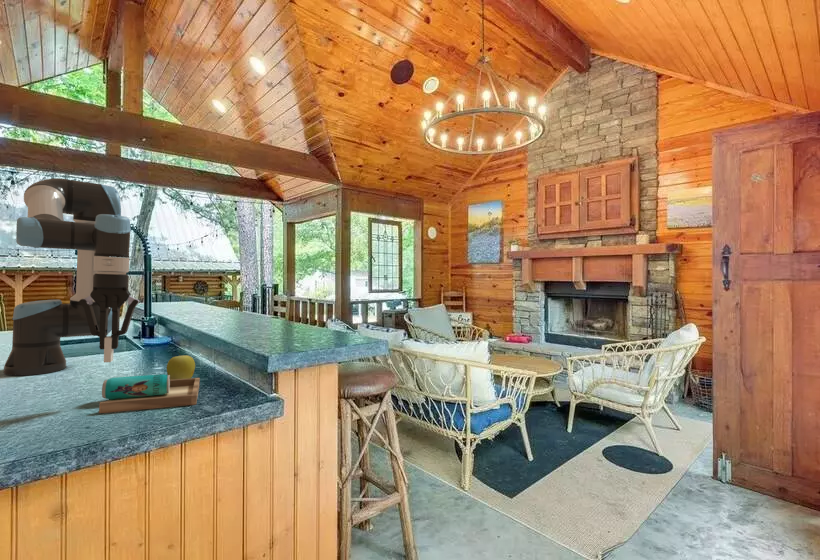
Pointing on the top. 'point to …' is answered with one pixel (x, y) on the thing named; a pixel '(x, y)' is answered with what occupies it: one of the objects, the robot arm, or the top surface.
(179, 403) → the wooden tray
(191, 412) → the top surface
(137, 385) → the beverage can
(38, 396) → the top surface
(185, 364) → the apple
